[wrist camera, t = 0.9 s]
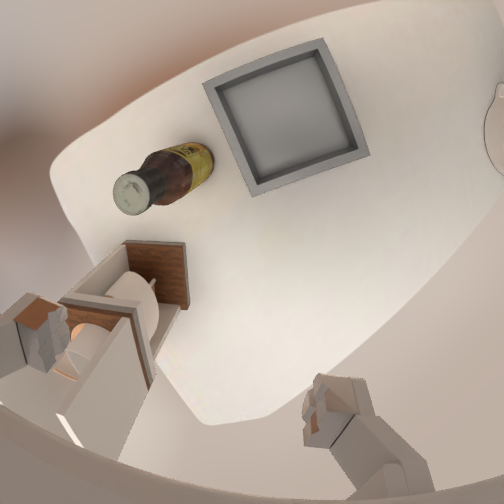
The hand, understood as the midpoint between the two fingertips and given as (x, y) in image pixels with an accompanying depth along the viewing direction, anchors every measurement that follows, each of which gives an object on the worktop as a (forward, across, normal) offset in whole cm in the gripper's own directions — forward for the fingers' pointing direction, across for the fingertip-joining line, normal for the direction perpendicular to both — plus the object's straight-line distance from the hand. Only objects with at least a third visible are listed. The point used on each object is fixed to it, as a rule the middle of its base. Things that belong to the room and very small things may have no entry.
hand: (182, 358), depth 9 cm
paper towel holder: (+40, +12, +20) cm, 46 cm away
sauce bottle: (+39, +9, +1) cm, 40 cm away
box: (+38, -2, -9) cm, 39 cm away
